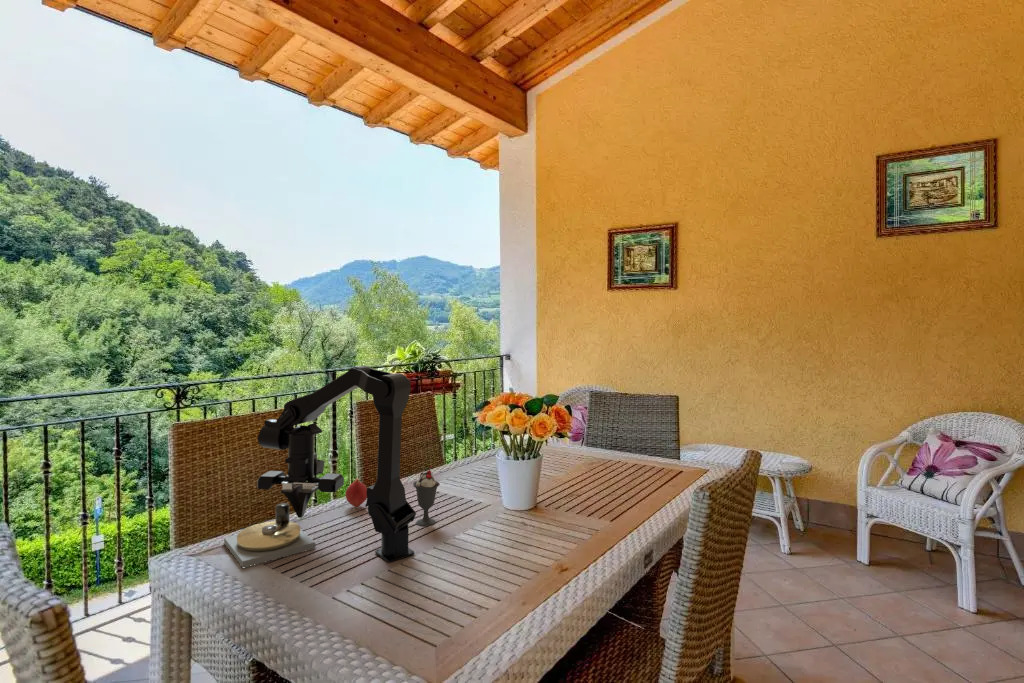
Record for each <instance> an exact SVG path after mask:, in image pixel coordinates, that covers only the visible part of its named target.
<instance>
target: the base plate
mask: <svg viewBox="0 0 1024 683" xmlns="http://www.w3.org/2000/svg"><path fill="white" fill-rule="evenodd" d="M237 535H238V534H235V535H231V536H226V537H224V538H223V539H224V540H223V545H224V544H225V545H226V546H225V545H224V546H225V548H226V549H227V548H228V549H229V550H230V551H229V550H228V549H227V550H228V551H229V552H230V554H231V553H232V554H233V555H234V556H233V555H232V554H231V555H232V556H233V558H234V557H235V558H236V559H237V560H236V559H235V558H234V559H235V560H236V562H237V561H238V562H239V563H240V564H239V563H238V562H237V563H238V564H239V566H240V565H241V566H242V567H246V568H248V567H247V566H250V565H253V566H255V565H254V564H257V565H259V564H258V563H261V564H263V563H262V562H264V563H266V562H265V561H268V562H270V561H269V560H272V561H274V560H273V559H275V560H278V559H277V558H279V559H282V558H281V557H283V558H286V557H289V556H288V555H290V556H293V555H292V554H294V555H296V554H295V553H297V554H300V553H299V552H301V553H303V552H302V551H305V550H308V551H311V550H310V549H312V550H314V549H316V541H314V539H312V538H311V537H310V536H309V535H308V534H306V532H305V531H303V530H302V529H301V528H300V537H299V539H298V540H297V541H295V542H294V543H292V544H290V545H288V546H285V547H282V548H278V549H274V550H268V551H248V550H243V549H241V548H239V547H238V545H237ZM305 552H306V551H305ZM285 556H286V557H285ZM242 567H241V568H242ZM250 567H251V566H250Z"/></svg>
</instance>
